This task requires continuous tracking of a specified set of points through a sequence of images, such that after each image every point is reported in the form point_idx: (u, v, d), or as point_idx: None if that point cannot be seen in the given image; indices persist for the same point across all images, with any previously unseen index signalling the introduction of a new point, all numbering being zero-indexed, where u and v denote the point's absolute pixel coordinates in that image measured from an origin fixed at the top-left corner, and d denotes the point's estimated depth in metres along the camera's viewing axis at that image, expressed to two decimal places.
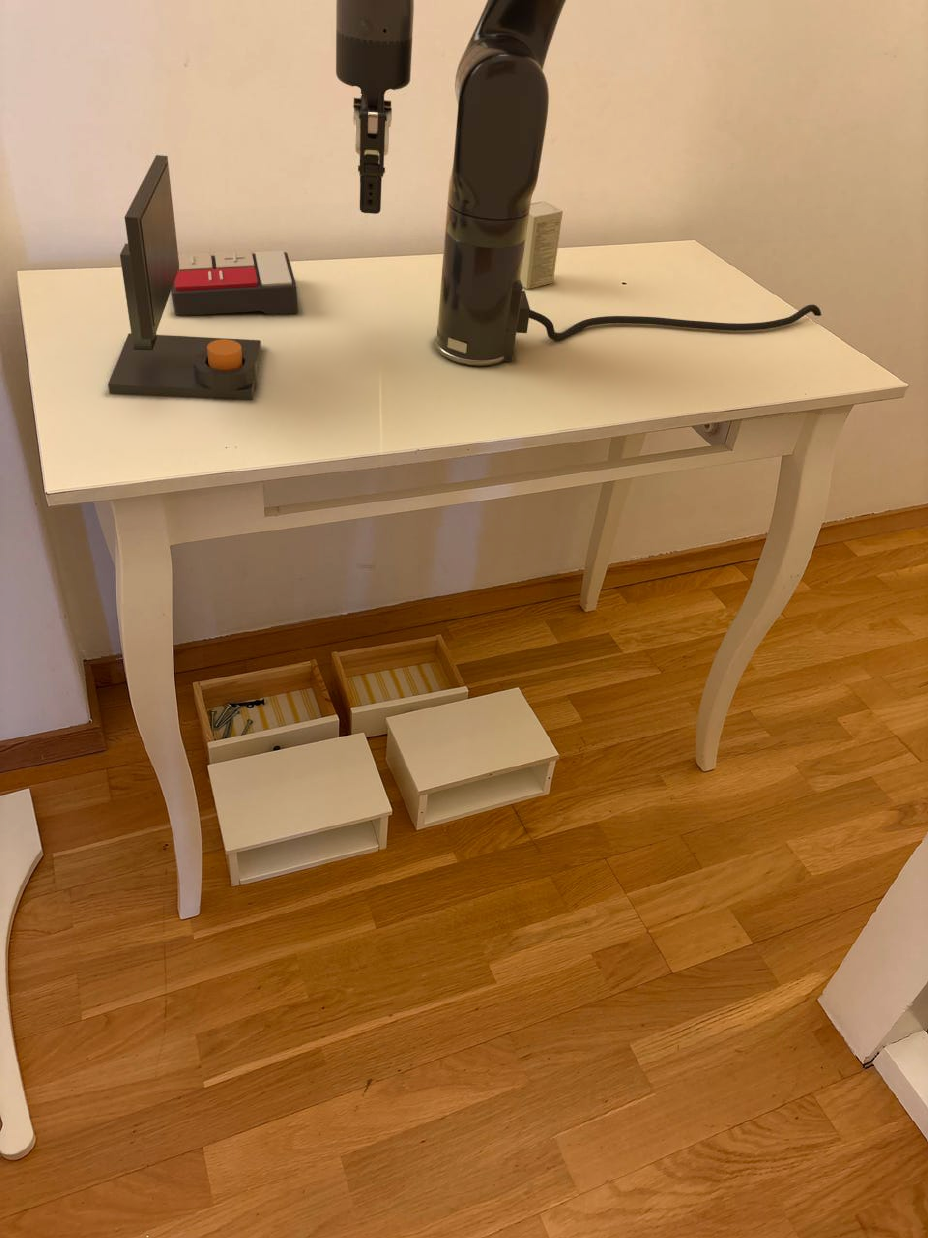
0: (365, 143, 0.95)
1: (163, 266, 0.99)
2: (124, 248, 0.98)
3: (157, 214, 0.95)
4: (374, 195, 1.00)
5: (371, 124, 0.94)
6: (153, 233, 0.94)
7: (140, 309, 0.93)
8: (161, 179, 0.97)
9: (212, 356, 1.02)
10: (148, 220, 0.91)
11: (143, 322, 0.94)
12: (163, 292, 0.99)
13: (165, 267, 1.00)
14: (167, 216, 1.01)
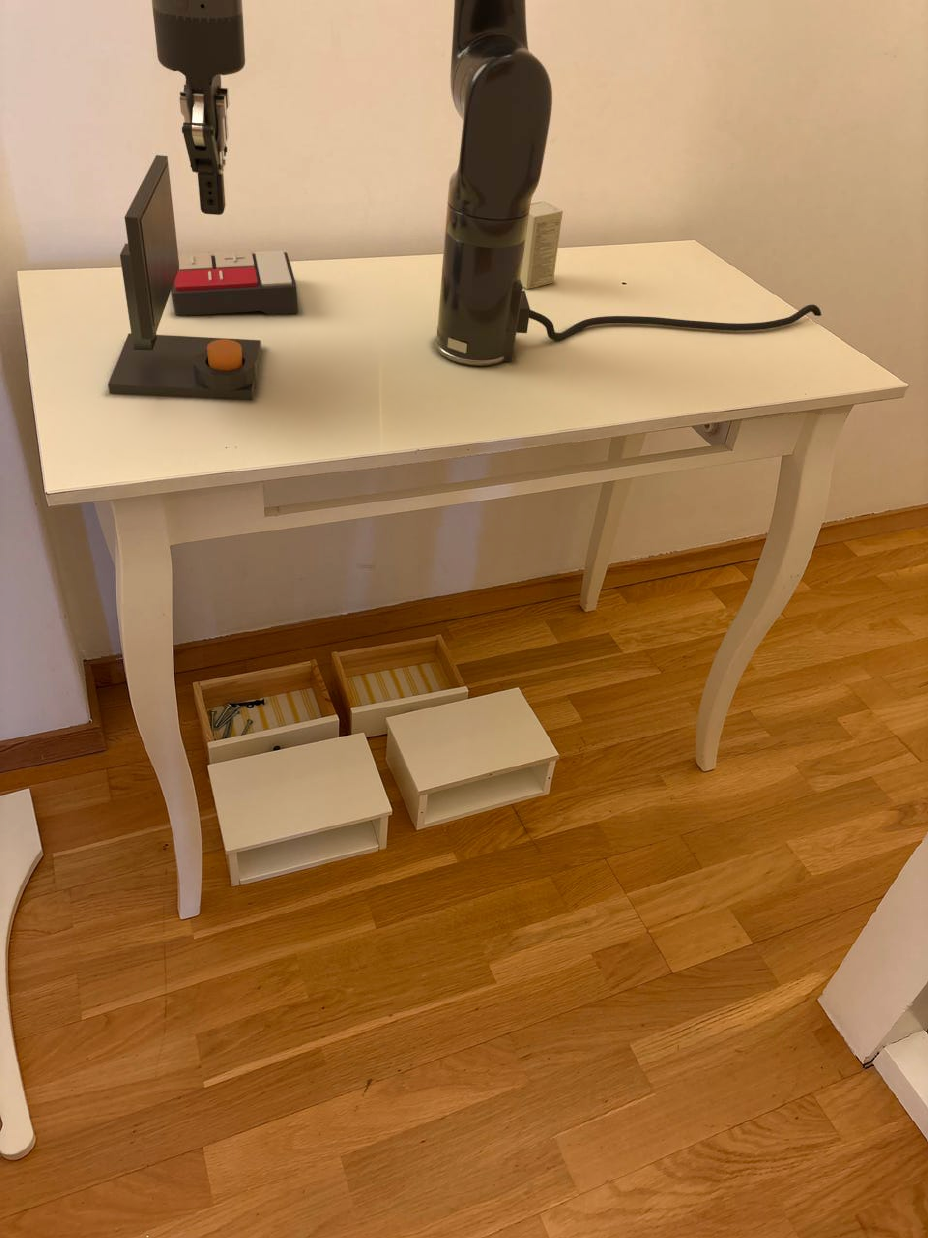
0: (194, 153, 0.85)
1: (163, 266, 0.99)
2: (124, 248, 0.98)
3: (157, 214, 0.95)
4: (214, 194, 0.91)
5: (197, 141, 0.84)
6: (153, 233, 0.94)
7: (140, 309, 0.93)
8: (161, 179, 0.97)
9: (212, 356, 1.02)
10: (148, 220, 0.91)
11: (143, 322, 0.94)
12: (163, 292, 0.99)
13: (165, 267, 1.00)
14: (167, 216, 1.01)
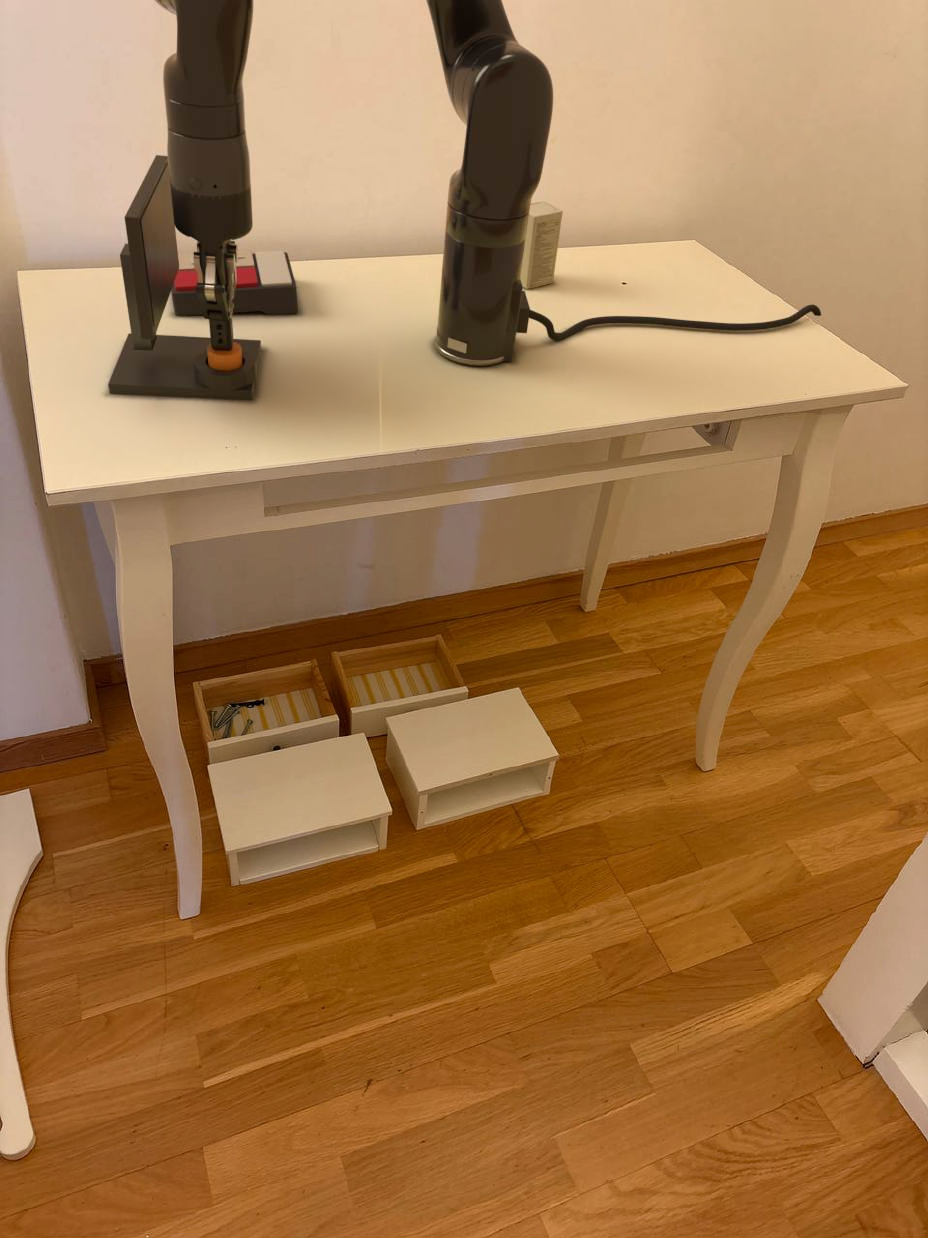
0: (206, 306, 0.95)
1: (163, 266, 0.99)
2: (124, 248, 0.98)
3: (157, 214, 0.95)
4: (223, 335, 1.00)
5: (209, 298, 0.93)
6: (153, 233, 0.94)
7: (140, 309, 0.93)
8: (161, 179, 0.97)
9: (212, 357, 1.02)
10: (148, 220, 0.91)
11: (143, 322, 0.94)
12: (163, 292, 0.99)
13: (165, 267, 1.00)
14: (167, 216, 1.01)
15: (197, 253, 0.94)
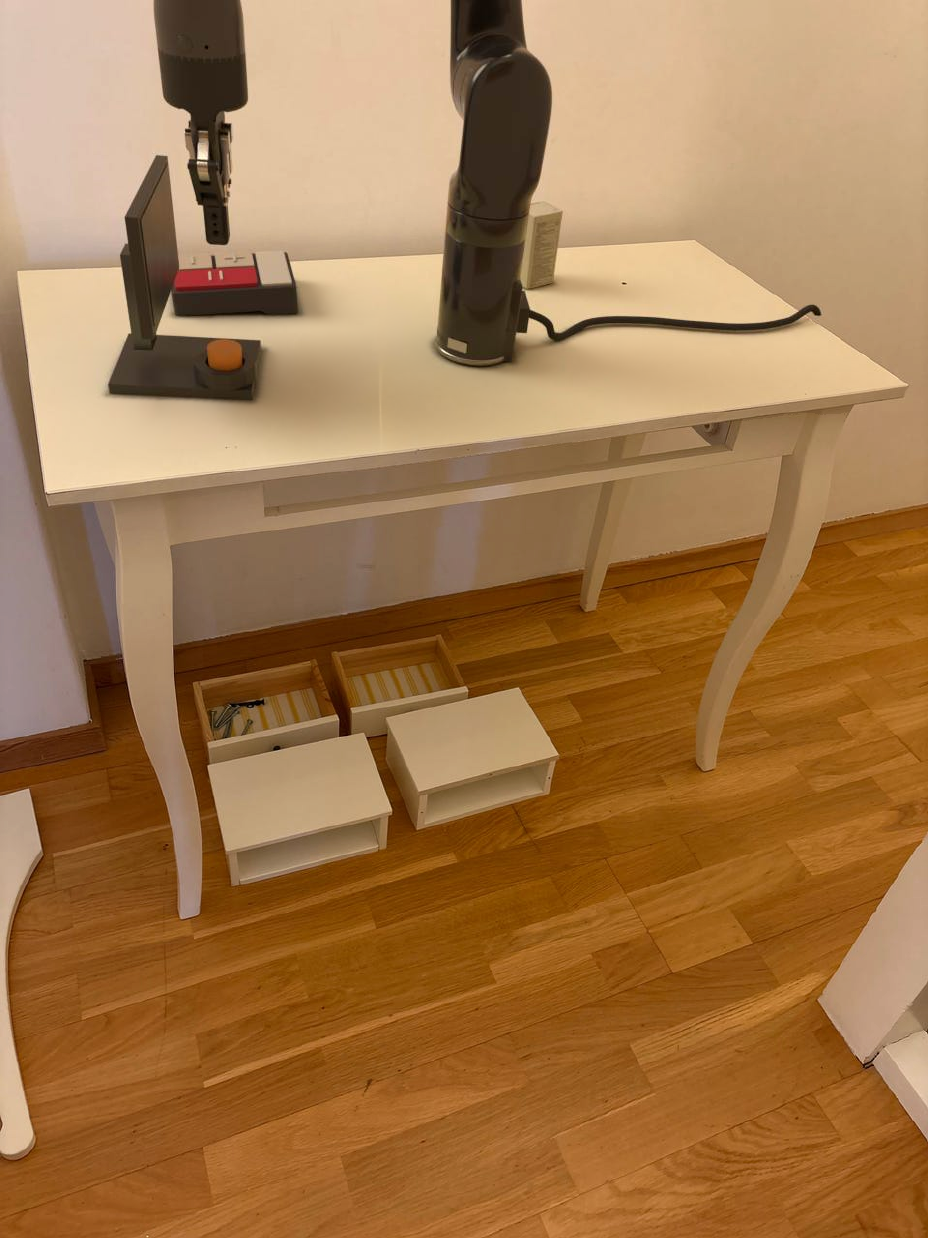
0: (199, 188, 0.87)
1: (163, 266, 0.99)
2: (124, 248, 0.98)
3: (157, 214, 0.95)
4: (219, 226, 0.93)
5: (202, 177, 0.86)
6: (153, 233, 0.94)
7: (140, 309, 0.93)
8: (161, 179, 0.97)
9: (212, 356, 1.02)
10: (148, 220, 0.91)
11: (143, 322, 0.94)
12: (163, 292, 0.99)
13: (165, 267, 1.00)
14: (167, 216, 1.01)
15: (189, 130, 0.87)
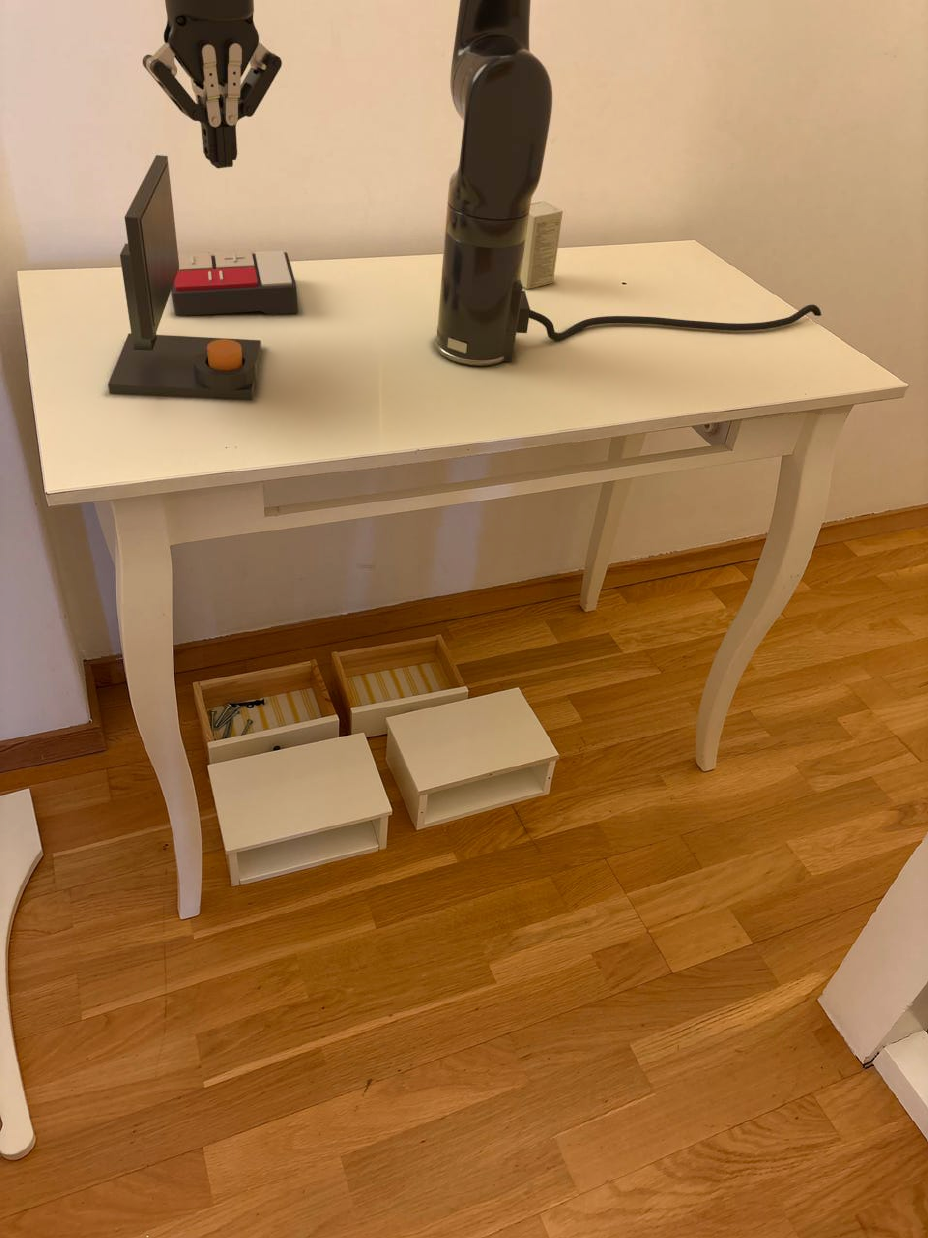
0: (164, 90, 0.86)
1: (163, 266, 0.99)
2: (124, 248, 0.98)
3: (157, 214, 0.95)
4: (207, 144, 0.90)
5: (153, 75, 0.84)
6: (153, 233, 0.94)
7: (140, 309, 0.93)
8: (161, 179, 0.97)
9: (212, 356, 1.02)
10: (148, 220, 0.91)
11: (143, 322, 0.94)
12: (163, 292, 0.99)
13: (165, 267, 1.00)
14: (167, 216, 1.01)
15: None
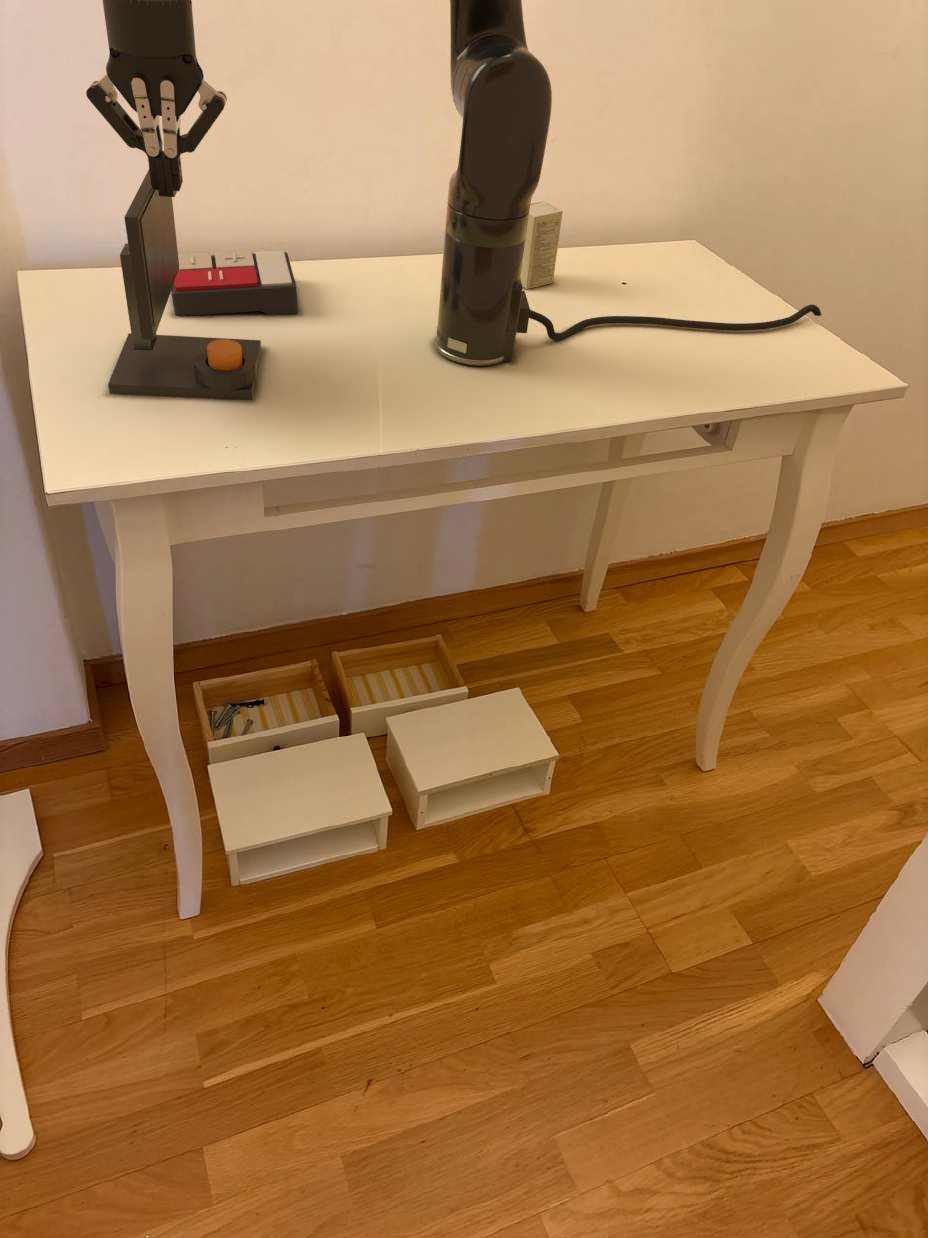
0: None
1: (163, 266, 0.99)
2: (124, 248, 0.98)
3: (157, 214, 0.95)
4: (150, 172, 0.93)
5: None
6: (153, 233, 0.94)
7: (140, 309, 0.93)
8: None
9: (212, 356, 1.02)
10: (148, 220, 0.91)
11: (143, 322, 0.94)
12: (163, 292, 0.99)
13: (165, 267, 1.00)
14: (167, 216, 1.01)
15: None
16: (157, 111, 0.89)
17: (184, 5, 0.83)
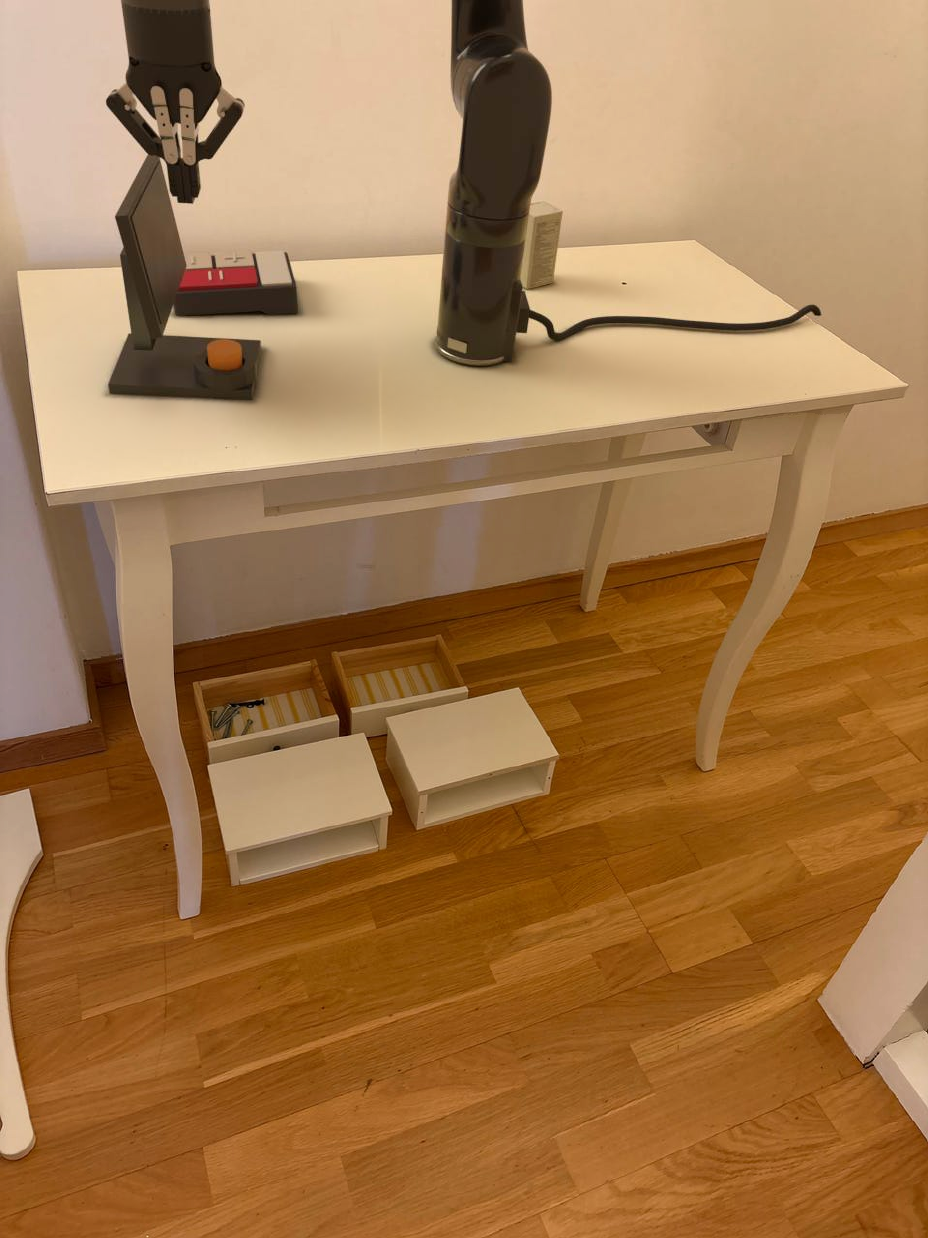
0: None
1: (165, 264, 0.99)
2: None
3: (152, 212, 0.95)
4: (168, 179, 0.93)
5: None
6: (149, 231, 0.94)
7: (144, 308, 0.93)
8: (153, 177, 0.97)
9: (212, 356, 1.02)
10: (141, 218, 0.91)
11: (149, 321, 0.94)
12: (168, 290, 0.99)
13: (168, 265, 1.00)
14: (165, 214, 1.00)
15: None
16: (176, 119, 0.89)
17: (203, 13, 0.83)
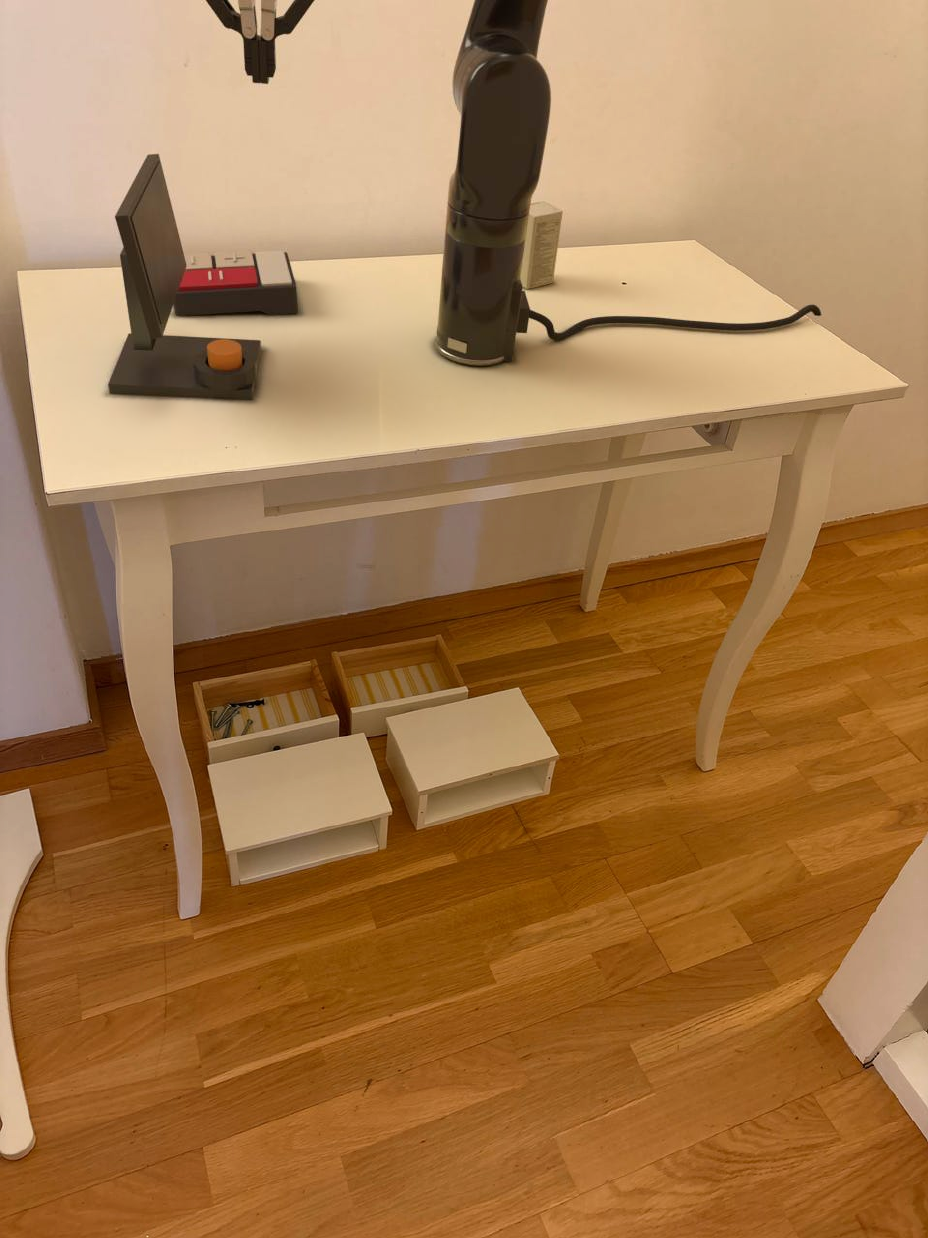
0: None
1: (165, 264, 0.99)
2: None
3: (152, 212, 0.95)
4: (244, 56, 0.90)
5: None
6: (149, 231, 0.94)
7: (144, 308, 0.93)
8: (153, 177, 0.97)
9: (212, 356, 1.02)
10: (141, 218, 0.91)
11: (149, 321, 0.94)
12: (168, 290, 0.99)
13: (168, 265, 1.00)
14: (165, 214, 1.00)
15: None
16: None
17: None
